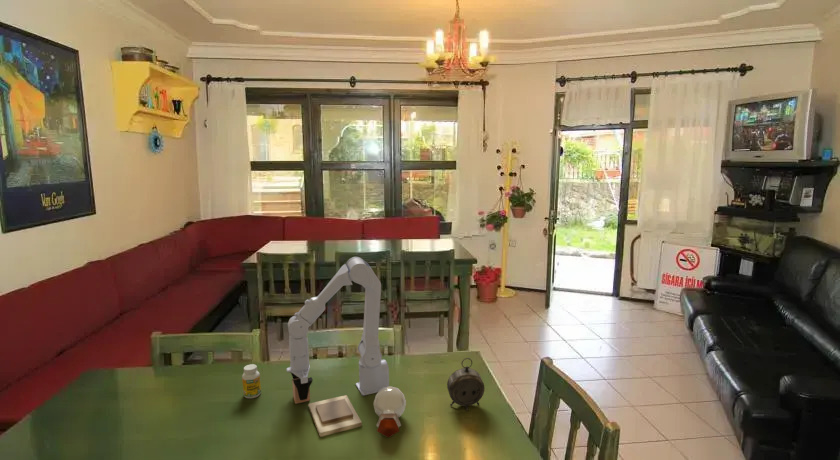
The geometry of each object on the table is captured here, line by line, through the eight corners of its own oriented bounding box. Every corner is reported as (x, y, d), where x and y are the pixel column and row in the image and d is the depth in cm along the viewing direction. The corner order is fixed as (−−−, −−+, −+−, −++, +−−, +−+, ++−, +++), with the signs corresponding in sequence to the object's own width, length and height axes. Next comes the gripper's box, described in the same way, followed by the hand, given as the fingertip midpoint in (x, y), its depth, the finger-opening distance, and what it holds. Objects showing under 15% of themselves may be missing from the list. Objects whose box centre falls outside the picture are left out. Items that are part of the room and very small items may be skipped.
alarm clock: (481, 401, 146) (482, 353, 143) (485, 411, 141) (486, 361, 138) (446, 403, 145) (447, 355, 142) (449, 413, 140) (450, 363, 137)
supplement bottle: (258, 388, 154) (256, 361, 152) (263, 395, 149) (261, 368, 147) (241, 393, 151) (239, 365, 149) (245, 400, 146) (243, 372, 145)
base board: (346, 398, 148) (346, 392, 147) (361, 426, 133) (361, 419, 133) (308, 407, 143) (308, 400, 142) (320, 436, 128) (319, 429, 128)
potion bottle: (394, 410, 143) (393, 447, 129) (368, 395, 141) (364, 430, 127) (412, 389, 141) (412, 424, 127) (385, 374, 139) (383, 407, 125)
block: (307, 393, 151) (306, 376, 150) (310, 400, 147) (309, 383, 146) (293, 396, 149) (292, 379, 148) (295, 403, 145) (294, 386, 144)
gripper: (282, 346, 150) (284, 385, 152) (289, 366, 137) (292, 408, 139) (304, 343, 153) (306, 381, 155) (313, 361, 140) (315, 403, 142)
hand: (301, 393), depth 147 cm, fingers open, 6 cm apart
